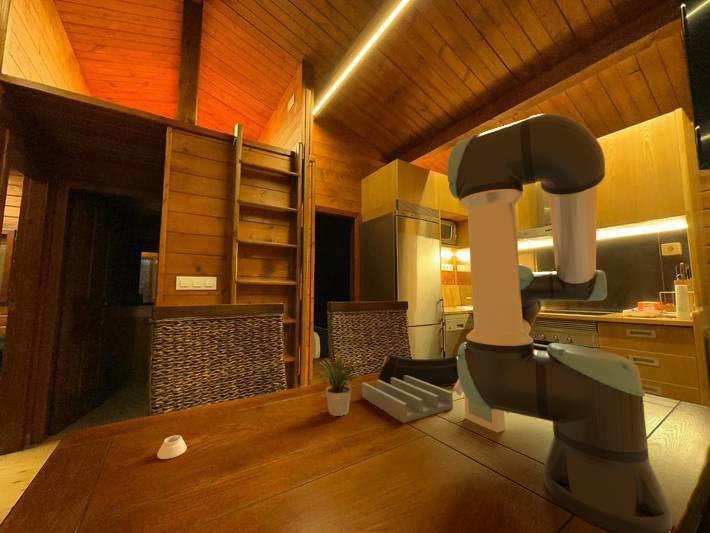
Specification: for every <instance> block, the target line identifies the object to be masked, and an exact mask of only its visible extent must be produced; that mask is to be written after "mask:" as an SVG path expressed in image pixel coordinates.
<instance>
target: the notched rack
mask: <svg viewBox="0 0 710 533" xmlns="http://www.w3.org/2000/svg"><path fill="white" fill-rule="evenodd" d="M362 397H363V398H365V399H366V400H368V401H369V402H368V401H367V402H368V403H370V402H371V403H372V404H371V403H370V404H371V405H373V404H374V405H376V406H377V408H378V407H379V408H380V410H381V409H382V410H381V411H383V410H384V411H385V412H384V411H383V412H384V413H386V412H387V413H386V414H388V415H389V416H391V417H393V418H394V419H396V420H397V421H398V422H401V423H403V424H405V423H409V422H411V421H417V420H420V419H423V418H425V417H428V416H432V415H436V414H439V413H443V412H446V411H450V410H453V409H454V405H453V401H454V400H453V399H454V398H453V392H452V391H451V390H448V389H445V388H441V386H434V385H432V384H429V383H426V382H424V381H421V380H418V379H416V378H413V377H410V376H408V375H404V381H401V380H399V379H396V378H394V377H392V378H391V385H390V384H388V383H385V382H383V381H381V380H380V379H378V380H376V386H375V387H374V386H373V385H370V384H369V383H367V382H362V383H361V398H362ZM363 398H362V399H363ZM365 399H364V400H365ZM366 400H365V401H366ZM374 405H373V406H374ZM376 406H375V407H376ZM379 408H378V409H379Z"/></svg>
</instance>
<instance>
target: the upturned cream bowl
mask: <svg viewBox="0 0 710 533" xmlns="http://www.w3.org/2000/svg"><path fill="white" fill-rule="evenodd" d="M187 447H188V446H187V444H186V443H185V441H184V439H183V437H182V436H181V435H179V434H178V435H177V434H176V435H171V436H169V437H166V438H165V439H164V440H163V443H162V444H161V446H160V448H159V450H158V451H157V454H156V455H157V456H156V457H157V458H158V459H161V460H170V458H171V459H174V458H177V457H178V456H180V455H182V454H184V453H185V452H186V451H187V449H188V448H187Z"/></svg>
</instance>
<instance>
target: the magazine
mask: <svg viewBox="0 0 710 533" xmlns="http://www.w3.org/2000/svg"><path fill="white" fill-rule="evenodd" d="M457 360H458V356H457V355H456V354H453V355H451V356H447V357H441V358H439V357H438V358H426V359H425V358H423V359H422V358H409V357H402V356H397V355H393V354H391V353H389V354H388V356H385V358H384V360H383V362H382V365H381V366H380V369H379V373H378V375H377V378H378V380H381V381H383V382H385V383H388V384H390V385H391V378H392V377H394V378H396V379H399V380H401V381H404V375H408V376H410V377H413V378H416V379H418V380H421V381H424V382H426V383H429V384H432V385H434V386H437V387H442V386H449V385H450V386H451V385H455V384H456V383H457V381H458V379H457V377H458V370H457Z"/></svg>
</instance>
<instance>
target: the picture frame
mask: <svg viewBox="0 0 710 533" xmlns="http://www.w3.org/2000/svg"><path fill="white" fill-rule="evenodd" d="M463 394H464V393H463ZM463 396H464V418H465V419H466V420H468V421H470V422H473V423H475V424H477V425H479V426H481V427H484V428H486V429H489V430H490V431H493V432H495V433H500V432H503V431H505V430H506V424H505V411H501V410H497V409H495V410H492V409H489V408H488V407H485V406H482V405H478V404H475V403H472V402H471V401H470V400H469V399H468V398H467V397H466V396H465V394H464V395H463Z"/></svg>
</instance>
